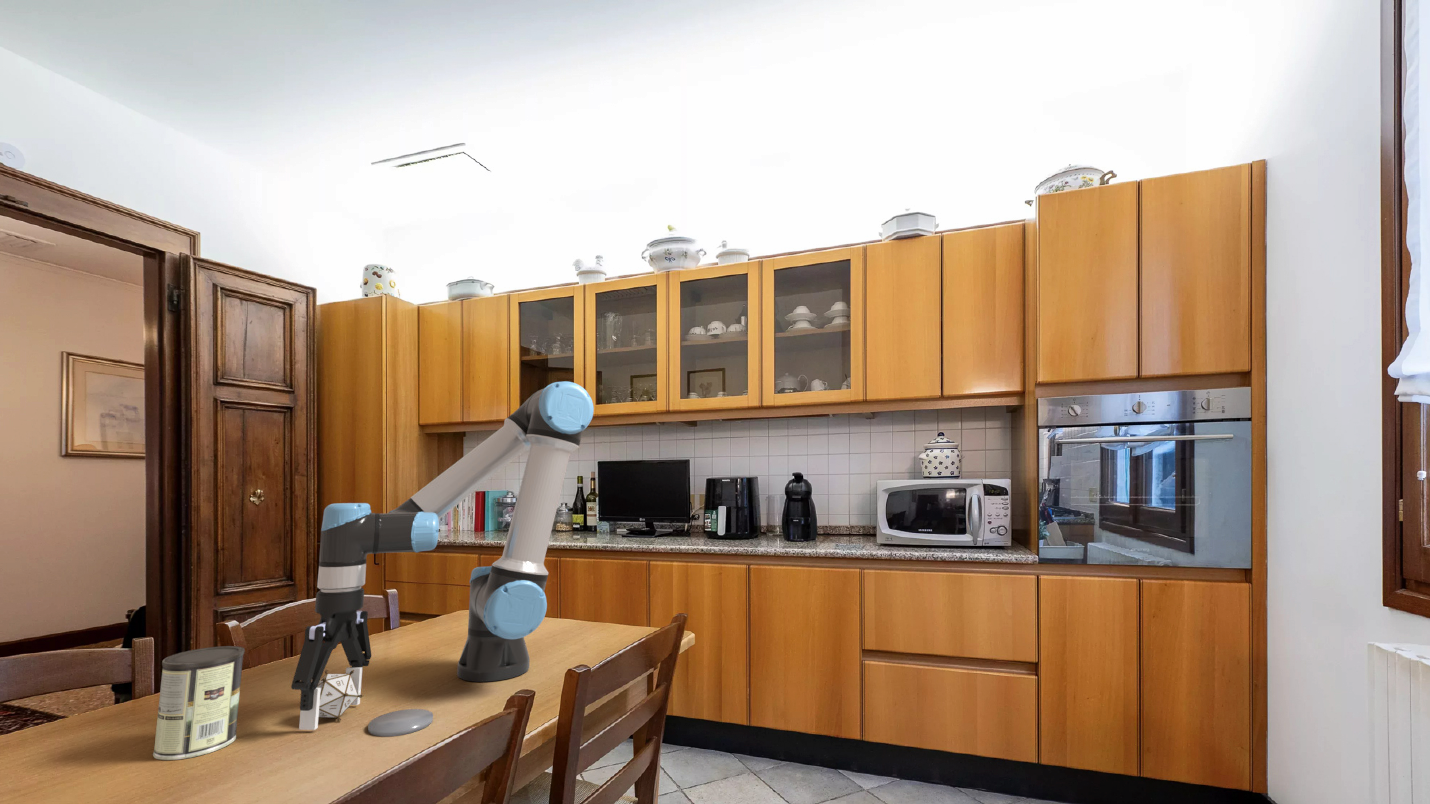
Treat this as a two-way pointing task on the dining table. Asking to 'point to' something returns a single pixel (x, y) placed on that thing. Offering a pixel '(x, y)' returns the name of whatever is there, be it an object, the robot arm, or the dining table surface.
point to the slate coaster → (400, 722)
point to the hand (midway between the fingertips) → (331, 715)
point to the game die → (336, 694)
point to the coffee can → (198, 702)
